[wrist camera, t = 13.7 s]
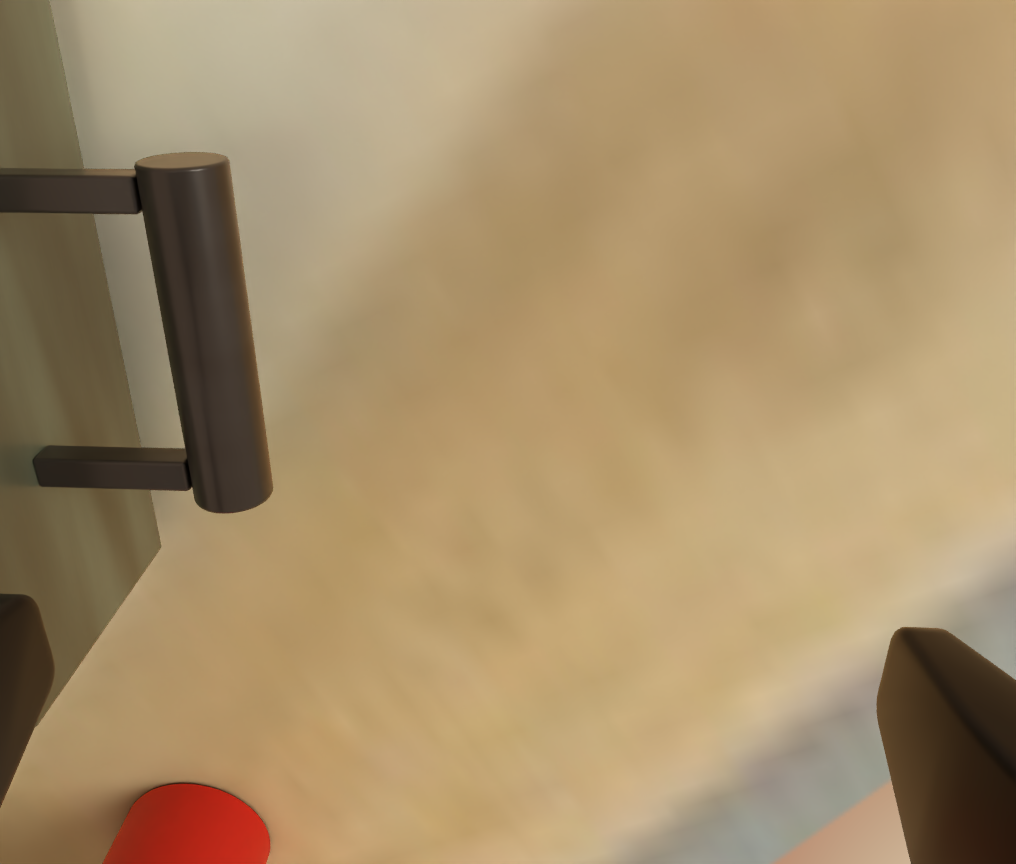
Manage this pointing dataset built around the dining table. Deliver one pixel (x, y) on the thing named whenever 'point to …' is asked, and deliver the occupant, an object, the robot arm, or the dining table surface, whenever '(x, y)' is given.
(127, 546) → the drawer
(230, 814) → the ketchup bottle
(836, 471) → the dining table surface
